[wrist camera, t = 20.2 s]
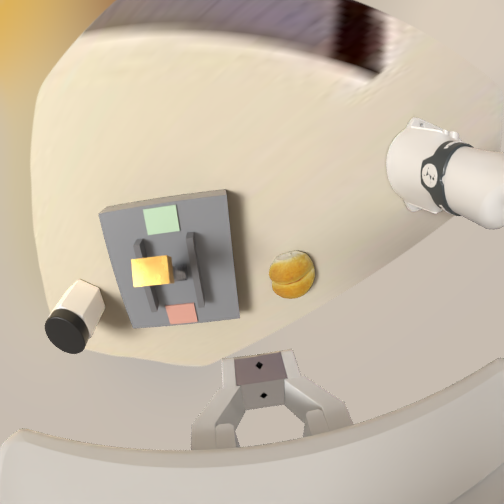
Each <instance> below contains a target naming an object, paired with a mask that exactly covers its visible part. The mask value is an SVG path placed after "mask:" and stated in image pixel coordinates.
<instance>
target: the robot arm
mask: <svg viewBox="0 0 504 504" xmlns="http://www.w3.org/2000/svg"><path fill="white" fill-rule="evenodd" d="M420 124H421V126H420ZM386 168H387V175H388V179H389V182H390V185H391V187H392V188H393V190H394V191H395V192H396V193H397V194H398V195H399V196H400V197H401V198H402V199H403V200H404V202H405V205H406V207H407V209H408V210H409V211H412V212H415V211H419V210H422V209H424V210H426V211H429V212H431V213H435V214H437V213H438V212H441V211H443V210H444V211H445V212H447V213H449V214H453V215H456V216H463V217H465V218H467V219H469V220H471V221H473V222H475V223H477V224H478V225H481V226H482V227H484V228H486V229H499V228H501V227H503V226H504V152H495V151H488V150H482V149H477V148H474V147H473V146H471V145H469V144H466V143H464V142H461V139H460V138H459V134H458V133H456V132H453V131H447V130H444V129H441V128H439V127H437V126H435V125H433V124H431V123H429V122H427V121H424V120H422V119H420V118H417V117H413V118H411V120H410V121H409V123H408V125H407V127H406V128H405V129H404V130H403V131H402V132H400V133H399V134H398V135H397V136H396V137H395V138H394V140H393V141H392V143H391V145H390V148H389V151H388V155H387V162H386ZM222 379H223V388H219V389H218V391H217V392H216V393H215V395H214V396H213V398H212V399H211V400H210V402H209V403H208V404H207V406H206V407H205V408H204V409H203V411H202V412H201V413H200V415H199V416H198V418H197V419H196V420H195V421H194V423H193V424H192V427H191V450H147V449H132V448H122V447H112V446H105V445H98V444H92V443H85V442H80V441H74V440H70V439H65V438H61V437H56V436H52V435H48V434H44V433H40V432H37V431H33V430H29V429H25V428H22V429H19V430H18V431H16V432H15V433H14V434H13V435H11V436H10V437H9V438H8V439H6V440H5V441H4V442H3V444H2V445H1V448H0V504H504V358H497V359H495V360H494V361H492V362H490V363H489V364H487V365H486V366H484V367H483V368H481V369H479V370H478V371H476V372H474V373H472V374H471V375H469V376H467V377H465V378H464V379H462V380H460V381H458V382H456V383H455V384H452V385H451V386H449V387H447V388H445V389H443V390H441V391H439V392H436V393H434V394H432V395H430V396H428V397H426V398H424V399H422V400H419V401H417V402H414V403H412V404H410V405H407V406H405V407H403V408H400V409H397V410H395V411H392V412H389V413H387V414H384V415H381V416H378V417H376V418H373V419H370V420H367V421H363V422H360V423H357V424H353V422H352V420H351V417H350V415H349V412H348V409H347V407H346V405H345V402H344V401H342V400H340V399H339V398H337V397H336V396H334V395H333V394H331V393H330V392H328V391H327V390H325V389H324V388H322V387H321V386H319V385H318V384H316V383H315V382H313V381H312V380H310V379H309V378H308V377H306V376H301V374H300V371H299V367H298V364H297V362H296V358H295V356H294V352H293V350H292V349H288V350H282V351H276V352H270V353H263V354H257V355H251V356H242V357H233V358H222ZM284 404H285V406H286V407H287V408H288V409H289V410H290V411H291V412H293V413H294V414H295V415H296V416H297V417H298V418H299V419H300V420H301V421H302V422H304V423H305V426H304V433H303V438H298V439H293V440H288V441H282V442H276V443H270V444H263V445H255V446H248V447H240V445H239V442H238V439H237V436H236V433H235V430H236V428H237V426H238V424H239V423H240V421H241V419H242V417H243V415H244V413H245V410H250V409H257V408H263V407H270V406H277V405H284Z"/></svg>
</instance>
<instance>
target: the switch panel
mask: <svg viewBox="0 0 504 504" xmlns="http://www.w3.org/2000/svg"><path fill="white" fill-rule="evenodd" d="M99 218H100V222H101V226H102V231H103V235H104V239H105V242H106V246H107V250H108V254H109V257H110V261H111V264H112V267H113V271H114V274H115V277H116V281H117V284H118V287H119V290H120V293H121V296H122V299H123V302H124V305H125V308H126V310H127V313H128V316H129V319H130V321H131V324H132V327H133V328H147V327H160V326H172V325H183V324H193V323H203V322H212V321H221V320H229V319H237V318H240V313H239V305H238V296H237V288H236V279H235V270H234V261H233V252H232V242H231V233H230V223H229V213H228V203H227V194H226V190H225V189H224V190H215V191H207V192H199V193H191V194H183V195H176V196H169V197H162V198H156V199H149V200H143V201H137V202H131V203H125V204H120V205H114V206H109V207H106V208H105V209H104V210H103V211H101V212H100V213H99ZM164 255H168V256H170V257H172V266H180V265H186V267H187V274H188V280H186V281H177V282H174V283H172V284H163V285H154V286H144V287H134V284H133V274H132V263H131V260H132V259H140V258H148V257H156V256H164Z"/></svg>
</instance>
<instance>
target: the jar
mask: <svg viewBox="0 0 504 504" xmlns="http://www.w3.org/2000/svg"><path fill="white" fill-rule="evenodd" d="M104 309H105V304H104V301H103V299H102V296H101V293H100V289H99V288H98V287H96V286H94V285H91V284H89V283H87V282H85V281H83V280H80V279H78V280H77V281H76V282H75V283H74V284H73V285H72V286H71V287H70V288H68V289H67V291H66V292H65V293H64V295H63V296H62V298H61V299H60V300H59V302H58V303H57V305H56V306H55V308H54V309H53V310H52V312H51V313H50V315H49V318H48V319H47V321H46V323H45V331H46V334H47V336H48V338H49V339H50V341H51V342H52V343H53V344H54V345H55V346H56V347H58V348H59V349H61V350H62V351H64V352H67V353H71V354H77V353H80V352H82V351H83V350H84V348H85V346H86V343H87V341H88V339H90V338H91V337H92V335H93V333H94V331H95V329H96V326H97V324H98V322H99V320H100V318H101V316H102V314H103V312H104Z"/></svg>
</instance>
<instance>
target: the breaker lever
mask: <svg viewBox="0 0 504 504" xmlns="http://www.w3.org/2000/svg"><path fill="white" fill-rule="evenodd" d="M131 263H132V274H133V284H134V287H144V286H154V285H163V284H172V283H174V282H177V281H186V280H188V274H187V267H186V265H180V266H172V257H170V256H168V255H164V256H156V257H148V258H140V259H132V260H131Z"/></svg>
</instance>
